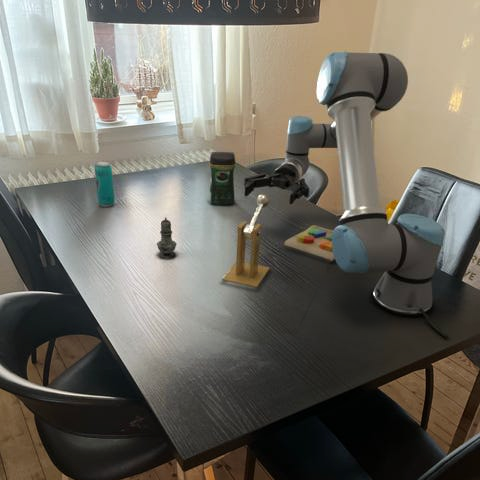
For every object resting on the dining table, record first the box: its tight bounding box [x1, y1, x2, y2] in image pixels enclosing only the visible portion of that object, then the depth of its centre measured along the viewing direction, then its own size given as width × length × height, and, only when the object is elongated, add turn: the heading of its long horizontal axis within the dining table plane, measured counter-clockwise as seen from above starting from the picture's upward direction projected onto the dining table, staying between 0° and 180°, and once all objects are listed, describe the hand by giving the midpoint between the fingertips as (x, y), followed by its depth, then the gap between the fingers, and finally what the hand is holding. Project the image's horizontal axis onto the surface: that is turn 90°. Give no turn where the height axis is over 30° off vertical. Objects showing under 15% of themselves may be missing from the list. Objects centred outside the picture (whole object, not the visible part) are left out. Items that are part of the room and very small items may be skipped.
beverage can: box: [94, 160, 115, 208], centre depth 177 cm, size 6×6×15 cm
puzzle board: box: [283, 225, 335, 263], centre depth 160 cm, size 18×19×3 cm
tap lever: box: [243, 193, 270, 240], centre depth 136 cm, size 15×4×4 cm, turn 158°
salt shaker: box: [156, 216, 177, 260], centre depth 147 cm, size 6×6×12 cm
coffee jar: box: [208, 151, 237, 206], centre depth 184 cm, size 10×8×19 cm
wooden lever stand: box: [221, 220, 271, 289], centre depth 136 cm, size 12×10×16 cm
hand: (268, 195), depth 143 cm, fingers open, 13 cm apart
